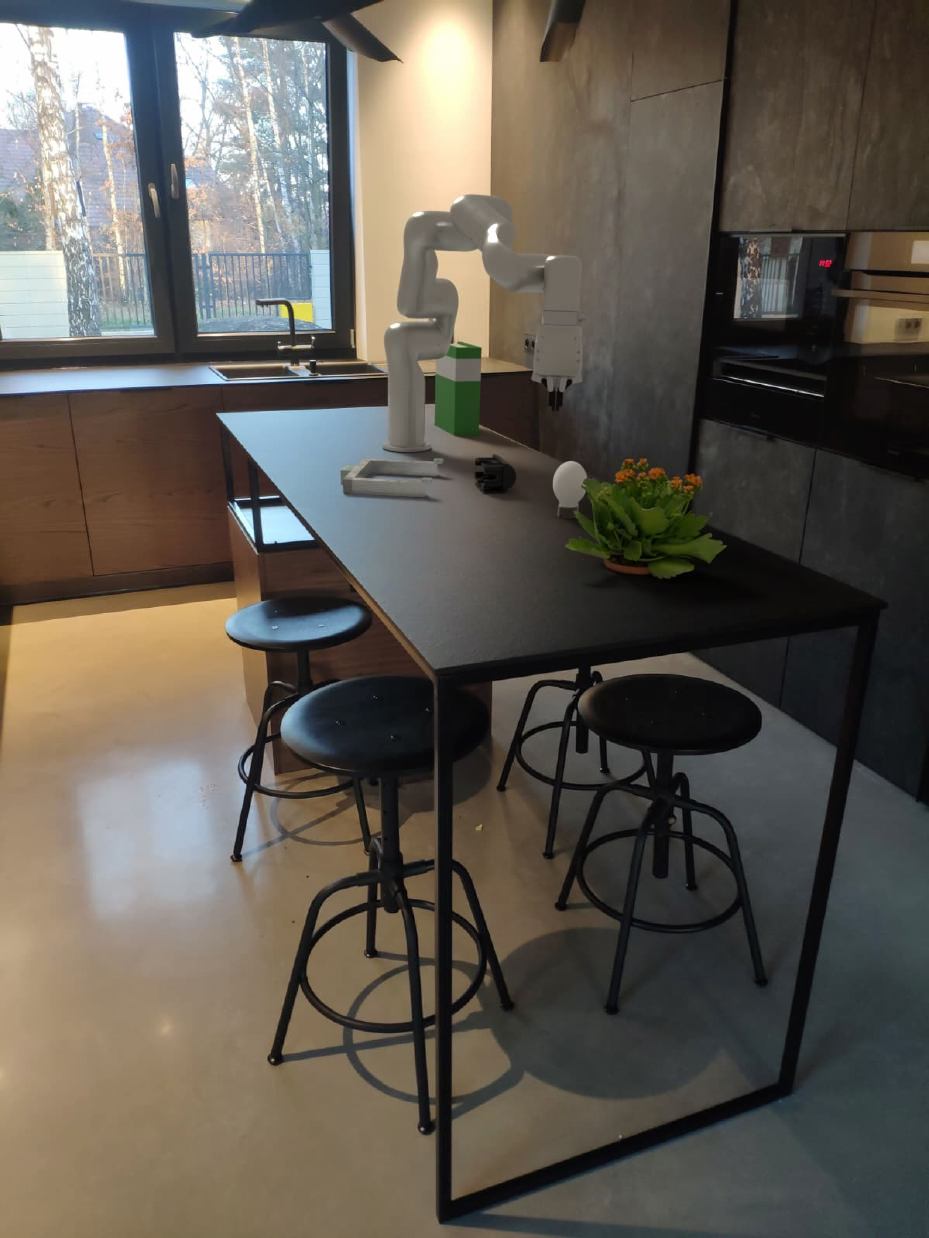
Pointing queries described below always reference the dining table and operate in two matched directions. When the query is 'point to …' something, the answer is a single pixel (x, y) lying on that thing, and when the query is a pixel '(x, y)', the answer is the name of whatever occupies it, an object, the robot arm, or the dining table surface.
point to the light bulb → (569, 488)
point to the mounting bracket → (360, 484)
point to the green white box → (458, 390)
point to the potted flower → (644, 523)
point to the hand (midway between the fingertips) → (555, 410)
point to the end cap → (494, 475)
